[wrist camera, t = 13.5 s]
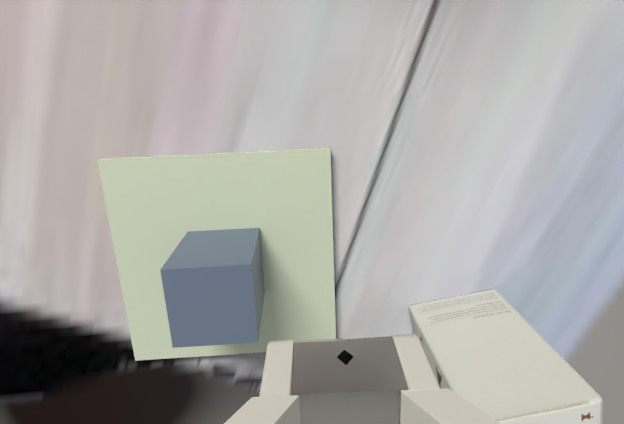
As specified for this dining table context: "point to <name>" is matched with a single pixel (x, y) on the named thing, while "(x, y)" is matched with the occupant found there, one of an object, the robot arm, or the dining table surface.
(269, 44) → the dining table surface
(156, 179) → the post board
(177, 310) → the blue-grey block
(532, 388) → the supplement box
